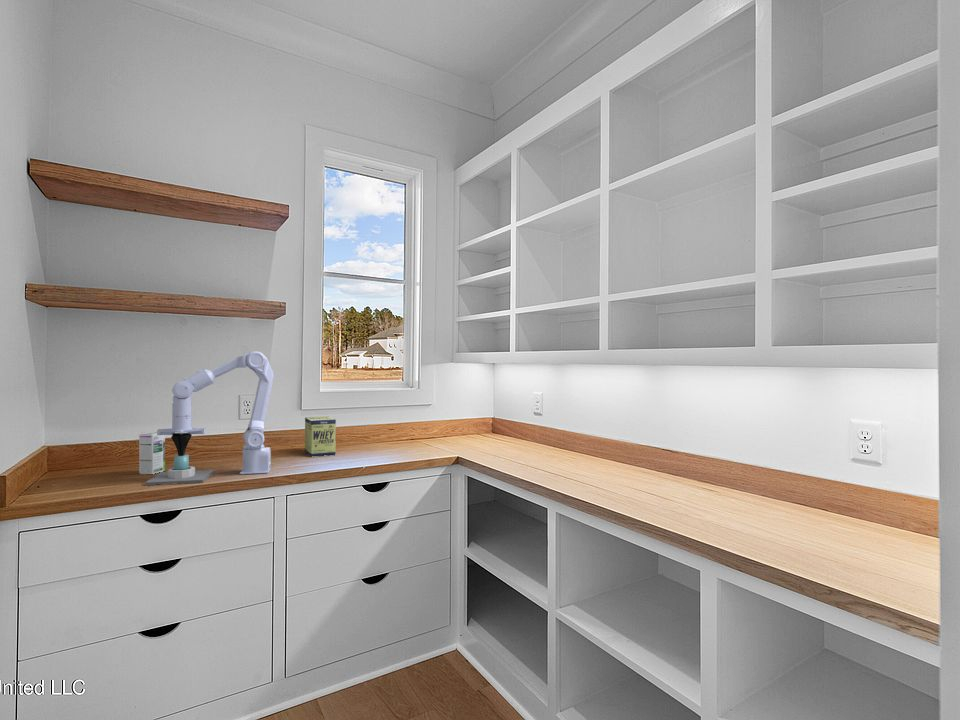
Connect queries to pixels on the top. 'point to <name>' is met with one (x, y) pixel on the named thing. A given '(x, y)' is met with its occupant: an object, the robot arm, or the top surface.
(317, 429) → the protein box
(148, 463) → the syrup box
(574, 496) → the top surface
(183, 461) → the teal rounded cylinder
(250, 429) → the robot arm
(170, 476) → the gray square plate
